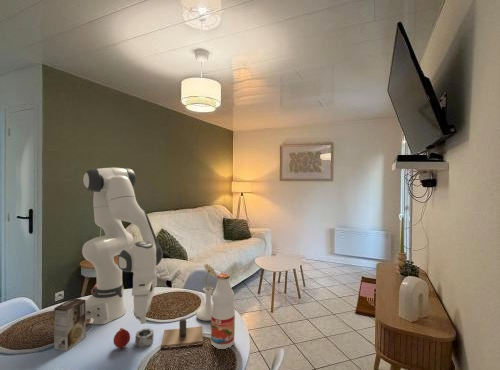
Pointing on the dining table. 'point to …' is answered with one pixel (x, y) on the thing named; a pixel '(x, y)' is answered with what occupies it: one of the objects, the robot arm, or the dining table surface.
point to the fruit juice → (223, 313)
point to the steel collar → (144, 338)
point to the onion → (121, 338)
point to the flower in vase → (207, 298)
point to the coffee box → (69, 324)
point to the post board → (182, 335)
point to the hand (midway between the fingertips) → (145, 317)
